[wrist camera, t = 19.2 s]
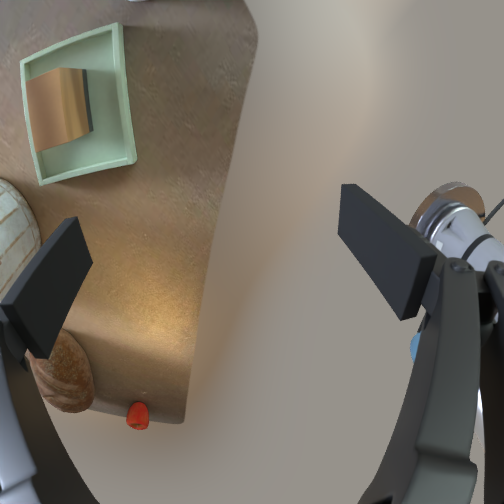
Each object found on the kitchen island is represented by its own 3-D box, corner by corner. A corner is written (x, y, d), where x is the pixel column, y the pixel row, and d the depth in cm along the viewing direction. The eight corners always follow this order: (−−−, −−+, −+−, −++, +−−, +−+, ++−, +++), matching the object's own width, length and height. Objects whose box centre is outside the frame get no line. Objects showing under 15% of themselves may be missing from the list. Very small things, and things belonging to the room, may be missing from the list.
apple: (124, 399, 65) (121, 422, 59) (144, 398, 65) (142, 422, 59) (133, 409, 68) (131, 431, 62) (153, 409, 69) (152, 432, 62)
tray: (123, 25, 26) (117, 22, 24) (137, 159, 36) (133, 163, 34) (28, 61, 24) (19, 61, 22) (46, 181, 35) (39, 186, 33)
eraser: (86, 69, 27) (58, 67, 20) (94, 130, 32) (68, 142, 25) (55, 80, 27) (24, 82, 20) (63, 139, 32) (35, 153, 25)
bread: (52, 385, 61) (43, 418, 51) (27, 314, 47) (8, 353, 37) (101, 398, 65) (95, 433, 55) (90, 331, 51) (76, 375, 41)
